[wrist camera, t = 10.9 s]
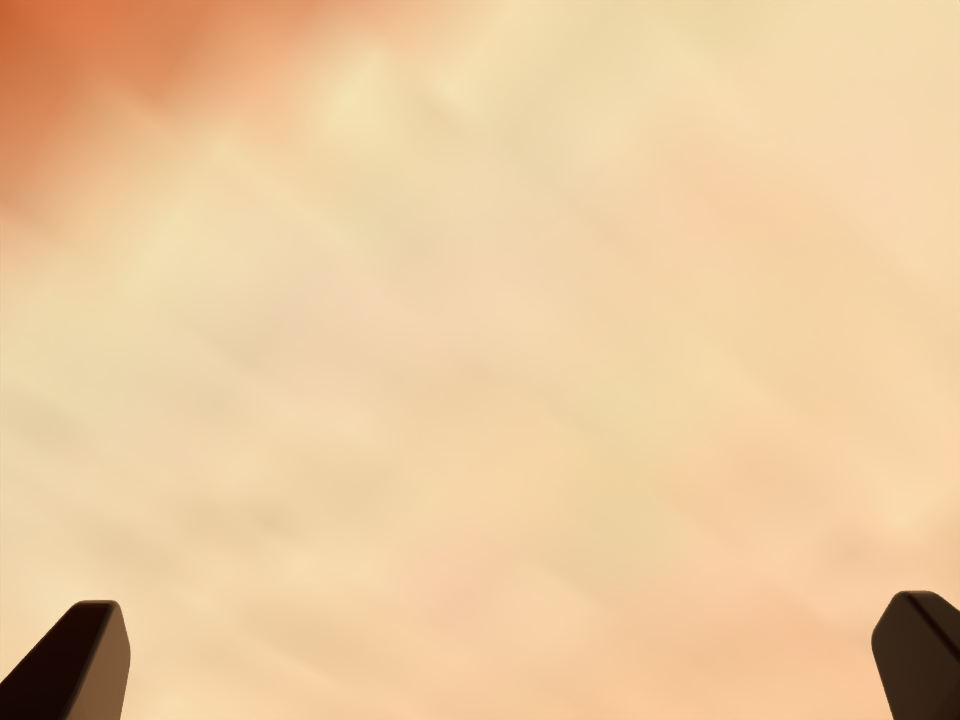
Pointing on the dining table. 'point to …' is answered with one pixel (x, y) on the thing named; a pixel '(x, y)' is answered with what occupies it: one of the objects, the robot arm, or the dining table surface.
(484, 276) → the dining table surface
